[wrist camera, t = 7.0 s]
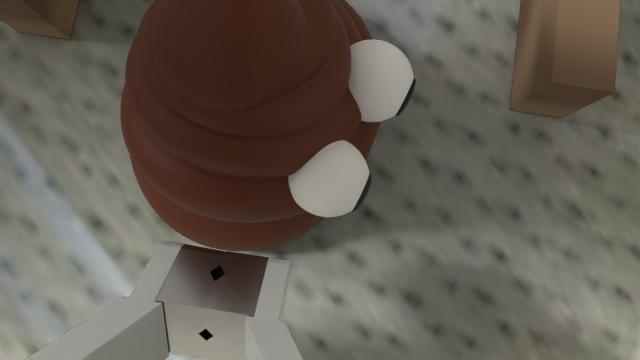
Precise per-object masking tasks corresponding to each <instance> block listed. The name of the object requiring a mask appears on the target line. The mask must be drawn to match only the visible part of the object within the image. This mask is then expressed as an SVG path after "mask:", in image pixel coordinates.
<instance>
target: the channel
mask: <svg viewBox="0 0 640 360" xmlns="http://www.w3.org/2000/svg"><path fill="white" fill-rule="evenodd" d="M78 3H79V0H0V19H1V20H2V21H3V22H5V23H6V24H8V25H9V26H10V27H12V28H13V29H15V30H16V31H18V32H24V33H30V34H36V35H42V36H49V37H55V38H61V39H68V40H70V36H71V32H72V28H73V23H74V19H75V15H76V11H77V7H78ZM620 3H621V0H521V4H520V14H519V24H518V34H517V43H516V53H515V63H514V73H513V82H512V92H511V102H510V110H515V111H521V112H528V113H534V114H540V115H546V116H553V117H559V118H562V117H564V116H566V115H568V114H570V113H572V112H575V111H577V110H579V109H581V108H583V107H585V106H587V105H589V104H591V103H593V102H595V101H597V100H599V99H602V98H604V97H606V96H608V95H610V94H612V93H614V88H615V74H616V60H617V45H618V31H619V17H620Z"/></svg>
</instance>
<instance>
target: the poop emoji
mask: <svg viewBox="0 0 640 360" xmlns="http://www.w3.org/2000/svg"><path fill="white" fill-rule="evenodd" d="M415 83H416V80H415V78H414V76H413V71H412V67H411V65H410V63H409V61H408V59H407V57H406V56H405V55H404V54H403V52H402V51H400V50H399V49H398V48H397V47H395V46H394V45H392V44H390V43H388V42H385V41H381V40H373V39H372V37H371V35H370V33H369V31H368V29H367V28H366V26H365V24H364V23H363V21H362V20H361V18H360V17H359V15H358V14H357V13H356V12H355V10H354V9H353V8H352V7H351V6H350V5H349V4H348V3H347V2H346V1H345V0H155V1H154V2H153V3H152V5H151V6H150V8H149V9H148V11H147V12H146V14H145V16H144V18H143V20H142V22H141V25H140V27H139V30H138V34H137V35H136V37H135V39H134V41H133V44H132V46H131V49H130V52H129V55H128V59H127V64H126V83H125V86H124V90H123V94H122V100H121V126H122V132H123V137H124V140H125V143H126V146H127V149H128V151H129V153H130V158H131V162H132V166H133V169H134V173H135V176H136V178H137V181H138V183H139V186H140V188H141V190H142V192H143V194H144V195H145V197H146V199H147V200H148V202H149V204H150V205H151V206H152V208H153V209H154V210H155V212H156V213H157V214H158V215H159V216H160V217H161V218H162V219H163V220H164V221H165V222H166V223H167V224H168V225H169V226H170V227H171V228H173V229H174V230H175V231H177V232H178V233H180V234H181V235H183V236H185V237H187V238H188V239H190V240H192V241H195V242H197V243H199V244H202V245H205V246H208V247H212V248H216V249H221V250H228V251H252V250H259V249H265V248H269V247H273V246H276V245H279V244H282V243H284V242H287V241H289V240H291V239H294V238H296V237H297V236H299V235H301V234H303V233H304V232H306V231H308V230H309V229H311V228H312V227H314V226H315V225H316V224H318V223H319V222H320V221H321V220H323V219H324V218H325V217H337V216H341V215H344V214H347V213H349V212H351V211H355V210H357V208H358V207H359V206H360V205H361V204H362V202H363V200H364V199H365V197H366V195H367V192H368V190H369V187H370V184H371V174H369V169H368V166H367V163H366V161H365V160H366V157H367V155H368V153H369V151H370V149H371V146H372V144H373V141H374V138H375V135H376V131H377V128H378V126H379V123H380V121H384V120H387V119H390V118H392V117H393V116H398V115H399V114H400V113H401V112H402V111H403V110H404V109H405V107H406V106H407V104H408V102H409V100H410V98H411V96H412V94H413V91H414V88H415Z"/></svg>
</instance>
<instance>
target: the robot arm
mask: <svg viewBox="0 0 640 360" xmlns="http://www.w3.org/2000/svg"><path fill="white" fill-rule="evenodd" d="M290 266H291V261H286V260H280V259H274V258H269V257H262V256H255V255H249V254H242V253H235V252H228V251H227V252H224V251H219V250H214V249H208V248H203V247H197V246H192V245H187V244H180V243H174V242H169V241H162V242H161V243H160V244H158V245H157V247H156V249H155V251H154V253H153V255H152V256H151V258H150V260H149V262H148V264H147V266H146V268H145V269H144V271H143V273H142V275H141V277H140V279H139V281H138V283H137V284H136V286H135V288H134V290H133V292H132V294H131V296H130V297H121V298H120V299H118V300H117V301H115V302H114V303H112V304H110V305H109V306H107V307H106V308H104V309H103V310H101V311H100V312H98V313H96V314H95V315H93V316H92V317H90V318H89V319H87V320H86V321H84V322H83V323H81V324H79V325H78V326H76V327H75V328H73V329H72V330H70V331H69V332H67V333H65V334H64V335H62V336H61V337H59V338H58V339H56V340H55V341H53V342H51V343H50V344H48V345H47V346H45V347H44V348H42V349H41V350H39V351H37V352H36V353H34V354H33V355H31V356H30V357H28V358H27V359H25V360H165V359H166V358H167V357H168V356H169V353H172V354H179V355H187V356H195V357H202V358H209V359H214V360H303V358H302V356H301V354H300V352H299V349H298V347H297V345H296V343H295V341H294V339H293V337H292V334H291V332H290V330H289V328H288V326H287V324H286V322H282V321H283V316H284V309H285V302H286V295H287V288H288V281H289V274H290Z"/></svg>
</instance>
